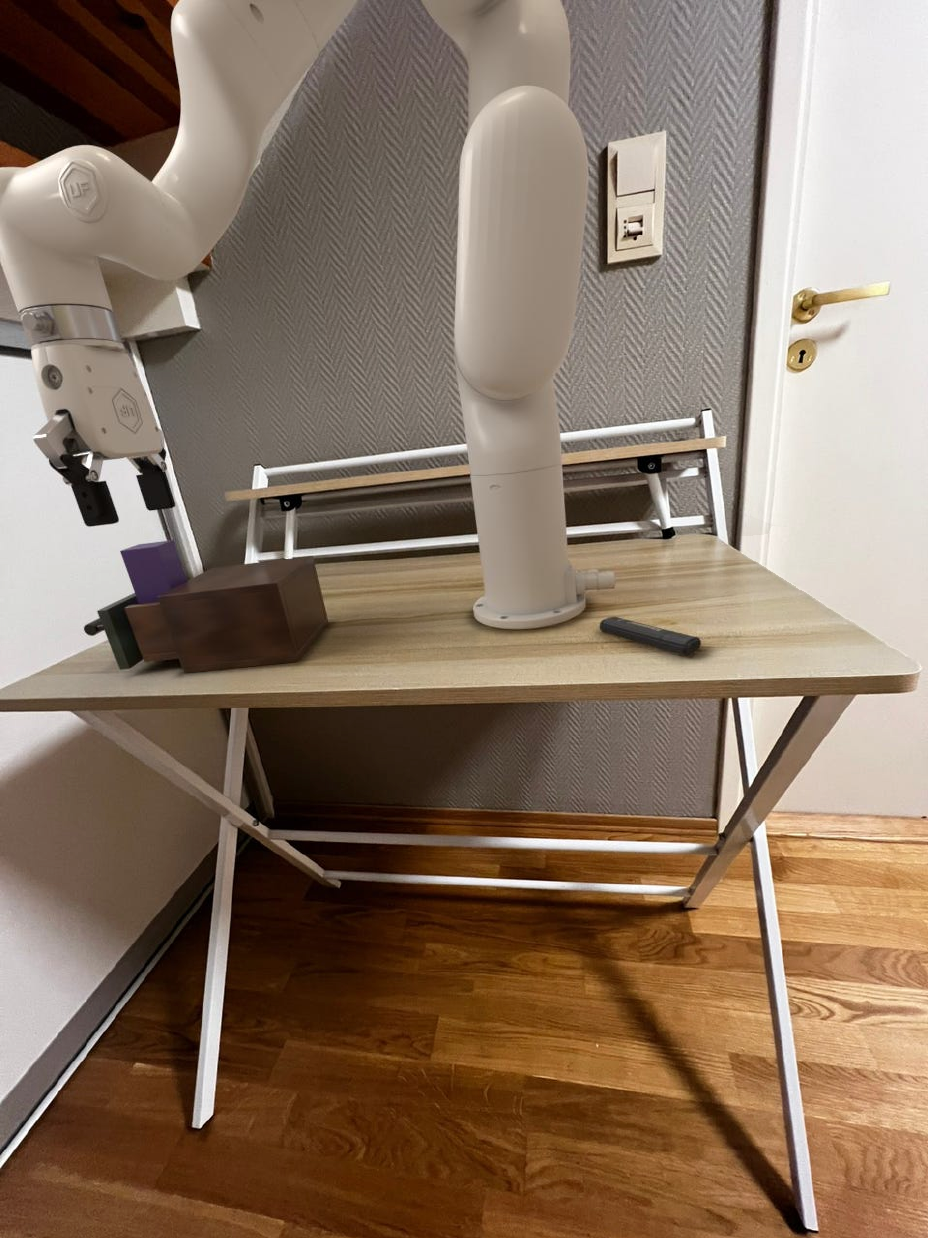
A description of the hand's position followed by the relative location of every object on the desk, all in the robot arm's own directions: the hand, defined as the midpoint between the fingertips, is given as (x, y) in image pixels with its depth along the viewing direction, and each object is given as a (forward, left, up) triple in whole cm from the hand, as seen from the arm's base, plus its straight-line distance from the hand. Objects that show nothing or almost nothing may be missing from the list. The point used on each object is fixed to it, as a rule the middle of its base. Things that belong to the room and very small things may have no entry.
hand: (134, 516), depth 57 cm
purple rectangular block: (0, 0, -14) cm, 14 cm away
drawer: (0, 0, -15) cm, 15 cm away
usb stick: (-50, +9, -16) cm, 54 cm away
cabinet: (-10, 0, -16) cm, 19 cm away
